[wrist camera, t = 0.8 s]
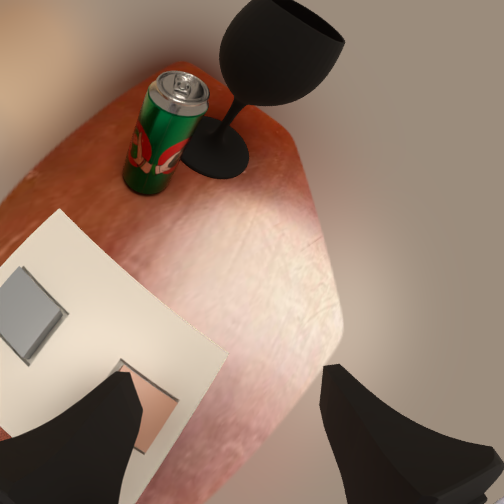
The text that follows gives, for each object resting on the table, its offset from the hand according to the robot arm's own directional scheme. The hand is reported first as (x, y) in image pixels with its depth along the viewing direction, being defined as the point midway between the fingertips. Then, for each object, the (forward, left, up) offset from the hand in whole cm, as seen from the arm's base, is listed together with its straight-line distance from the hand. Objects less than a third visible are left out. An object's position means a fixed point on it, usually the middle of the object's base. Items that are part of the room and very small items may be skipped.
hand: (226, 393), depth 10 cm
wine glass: (+25, +11, -15) cm, 31 cm away
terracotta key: (-3, +1, -11) cm, 12 cm away
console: (-3, +6, -14) cm, 16 cm away
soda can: (+15, +13, -15) cm, 25 cm away
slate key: (-3, +11, -11) cm, 16 cm away
